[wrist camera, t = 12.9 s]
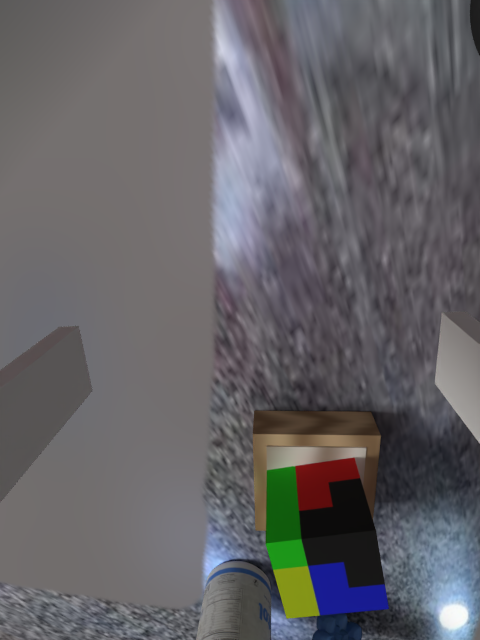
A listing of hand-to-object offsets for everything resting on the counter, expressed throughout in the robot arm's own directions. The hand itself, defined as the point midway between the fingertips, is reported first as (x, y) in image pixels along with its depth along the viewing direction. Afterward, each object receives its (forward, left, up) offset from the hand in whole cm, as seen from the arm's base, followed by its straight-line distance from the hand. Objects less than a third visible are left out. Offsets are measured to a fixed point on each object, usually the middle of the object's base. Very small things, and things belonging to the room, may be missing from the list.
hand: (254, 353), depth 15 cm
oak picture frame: (-5, +28, -30) cm, 42 cm away
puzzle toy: (-6, +30, -26) cm, 40 cm away
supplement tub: (+5, +50, -31) cm, 59 cm away
